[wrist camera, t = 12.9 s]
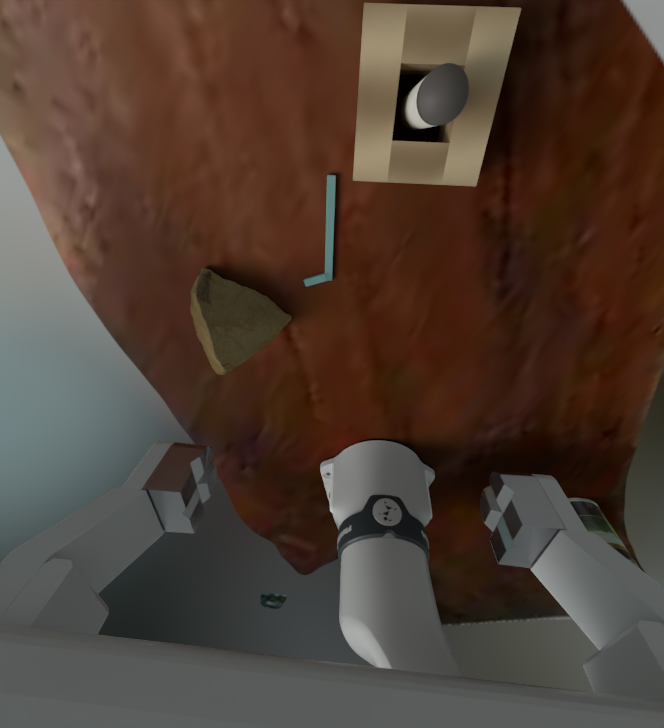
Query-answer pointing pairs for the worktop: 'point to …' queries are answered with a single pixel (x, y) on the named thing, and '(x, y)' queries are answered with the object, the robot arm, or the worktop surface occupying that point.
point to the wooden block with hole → (419, 57)
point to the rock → (232, 320)
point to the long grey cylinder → (436, 98)
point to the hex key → (327, 235)
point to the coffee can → (599, 524)
